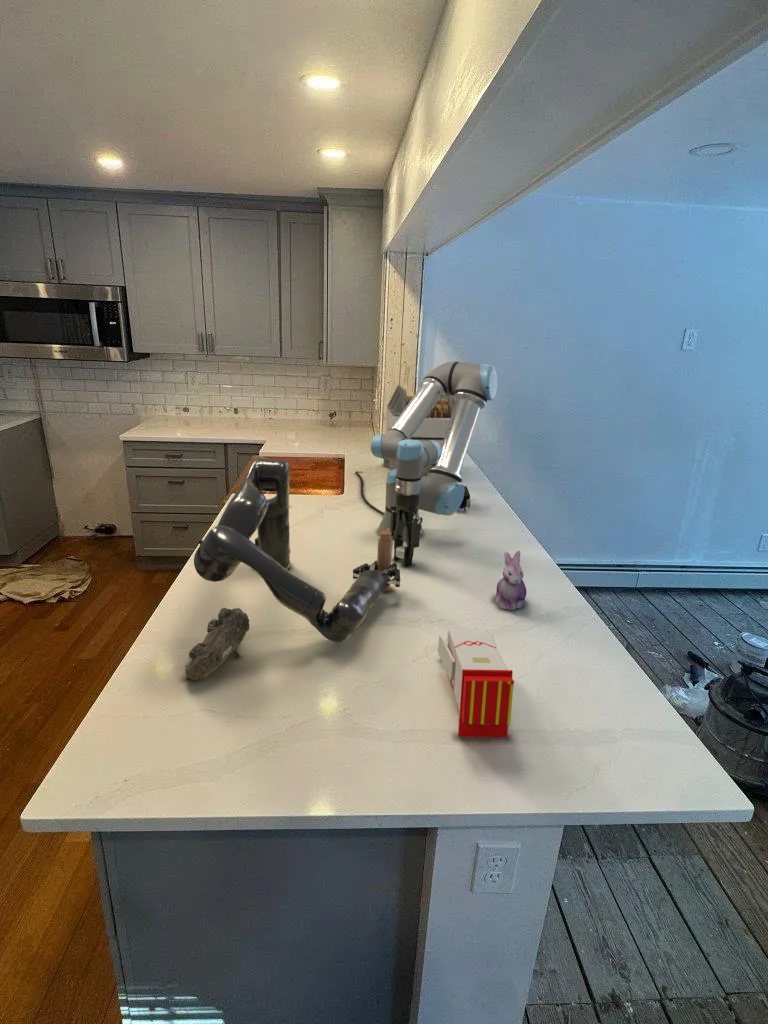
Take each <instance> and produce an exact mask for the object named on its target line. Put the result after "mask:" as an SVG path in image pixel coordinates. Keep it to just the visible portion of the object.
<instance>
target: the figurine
mask: <svg viewBox="0 0 768 1024" xmlns="http://www.w3.org/2000/svg"><path fill="white" fill-rule="evenodd" d="M521 554H522V553H521V551H520V550H517V551H516V552H515V554H514V555H513V557H512V556H511V554H510V552H508V551H505V552H504V554H503V555H504V568H503V570H502V578H501V579H500V580H498V581H497V583H496V593H495V602H496V604H498V605H499V607H500V609H503V610H508V611H514V610H516V609H521V607H522V606H524V603H525V600H526V597H527V586H526V584H525V582H524V579H523V578H524V571H523V569H522V567H521V564H520V563H521V562H520V561H521Z"/></svg>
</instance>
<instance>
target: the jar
mask: <svg viewBox="0 0 768 1024" xmlns="http://www.w3.org/2000/svg"><path fill="white" fill-rule="evenodd" d="M391 534H392V533H391V532H390V531H387V530H383V531H380V532H379V538H378V539H377V553H376V555H377V556H376V561H377V571H383V570H384V569H389V568H390V566H391V565H392V559H393V543H394V539H391ZM390 579H392V578H390ZM390 590H391V584H390V585H389V586H387V587H386V588H385V590H384V592H383V593H385V592H389V591H390Z"/></svg>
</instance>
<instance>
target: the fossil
mask: <svg viewBox="0 0 768 1024" xmlns="http://www.w3.org/2000/svg"><path fill="white" fill-rule="evenodd" d="M217 617H218V619H217V618H213V619H211V620H210V621H208V623H207V626H206V628H207V630H206V632H207V633H206V635H205V636H204V639H203V640H202V642H197V643H196V644H195V645H194V646H193V647H191V648H190V650H189V652H188V657H189V659H191V660H190V661H189V662H188V663H187V664H186V665H185V669H184V673H185V678H186V679H190V680H191V681H196V680H201V679H203V678H204V679H206V678H207V677H208V676H209V675H210V674H212V673H213V672H214V671H215V670H216V669H217V668H219V666H221V664H222V665H223V663H224V662H225V661H226V660H227V659H228V657H229V655H230V654H232V653H233V654H234V655H235V656H236V657H237V658H239V657H240V654H239V653H238V651H236V647H237V646H238V645H240V644H241V643H242V642H243V641H244V639H245V636H246V635H247V633H248V632H249V631H250V618H249V616H248V613H246V612H244V611H243V610H242V609H241V608H240V607H234V608H227V607H221V608H220V610H219V612H218V615H217Z"/></svg>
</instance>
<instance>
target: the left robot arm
mask: <svg viewBox="0 0 768 1024" xmlns="http://www.w3.org/2000/svg"><path fill="white" fill-rule="evenodd" d="M290 482H291V469H290V465H289V462H288V461H287V460H285V459H284V460H283V459H272V458H271V459H269V458H259V459H255V460H254V461H253V462H252V464H251V466H250V467H249V470H248V471H247V473H246V476H245V478H244V479H243V482H242V483H241V485H240V487H239V488H238V490H237V491H236V493H235V494H234V495H233V497H232V498H231V499H230V501H229V502H228V504H227V505H226V507H225V509H224V511H223V512H222V515H221V517H220V518H219V521H218V523H217V525H215V526H214V527H212V528H211V529H209V531H208V533H207V534H206V535H205V537H204V539H201V540H199V541H198V542H197V544H199V547H198V548H197V549H196V551H195V553H194V557H193V565H194V569H195V571H196V573H197V574H198V575H199V577H200V578H202V579H203V580H205V581H208V582H214V583H217V582H222V581H225V580H227V579H228V578H230V576H232V575H233V574H234V573H235V571H236V569H237V568H238V567H239V565H240V564H241V563H242V564H244V565H245V566H248V567H249V568H251V569H252V570H254V571H255V572H256V573H257V574H258V575H259V576H260V577H261V579H262V580H263V581H264V583H265V585H266V587H267V588H268V590H269V592H270V593H271V594H272V596H273V597H274V598H275V600H276V601H277V602H278V603H280V604H281V605H282V606H283V607H285V608H287V609H288V610H290V611H291V612H293V613H295V614H297V615H298V616H301V617H302V618H304V619H305V620H306V621H307V622H308V623H309V624H311V625H312V627H314V629H316V630H317V631H318V632H319V633H320V634H321V635H322V636H323V638H325V639H326V640H327V641H330V642H333V643H342V642H343V643H344V641H345V640H346V641H347V639H348V638H349V637H350V636H351V635H352V634H353V633H354V631H356V629H357V628H358V627H359V626H360V625H361V623H362V622H363V621H364V620H365V617H366V616H367V614H368V612H370V609H371V608H372V607H373V606H374V605H375V604H376V603H377V601H378V600H379V599H380V597H381V596H382V595H383V594H384V593H385V592H384V590H385V588H386V587H387V586H389V585H390V586H391V585H394V586H395V587H396V588H400V587H401V570H400V569H399V568H398V564H397V562H396V561H394V562H392V563H391V566H390V568H389V569H384V570H383V571H377V560H374V561H373V562H372V563H370V564H369V563H363V564H361V565H359V566H357V567H355V568H353V569H352V579H353V580H354V581H353V583H352V584H351V585H350V587H349V589H348V590H347V591H346V593H345V594H343V597H342V598H341V599H340V600H339V601H338V602H337V603H336V604H335V606H333V608H332V609H331V610H330V611H329V612H327V611H326V610H325V609H324V606H325V604H326V602H327V601H326V600H327V596H326V594H325V593H324V592H323V591H322V590H320V589H319V588H317V587H315V586H314V585H312V584H310V583H308V582H307V581H305V580H304V579H301V578H300V577H298V576H296V575H295V574H293V573H292V572H290V571H289V570H290V568H291V560H290V559H291V549H290V546H291V545H290V484H291V483H290ZM264 492H267V493H275V494H276V495H275V496H274V497H271V498H269V499H267V497H266V496H265V494H264ZM256 531H257V537H255V539H254V542H253V541H252V540H250V539H251V538H252V536H253V535H254V534H255V533H256ZM390 578H391V579H390Z"/></svg>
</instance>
